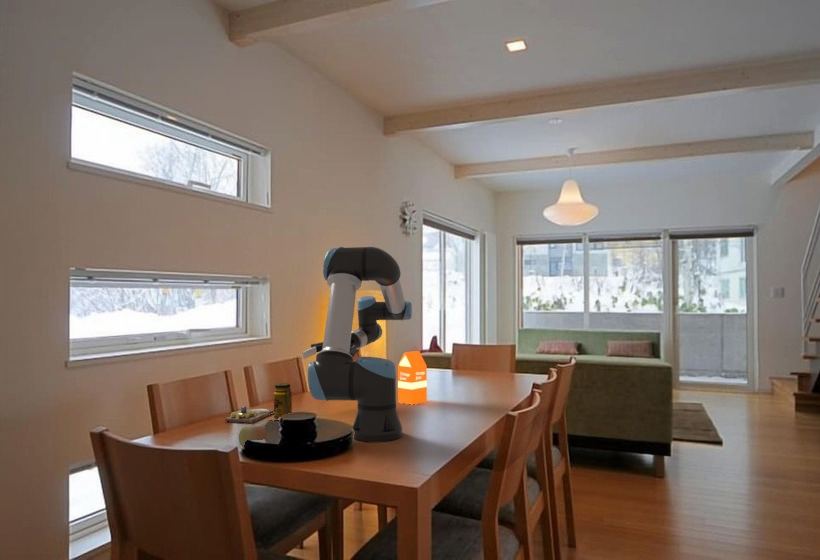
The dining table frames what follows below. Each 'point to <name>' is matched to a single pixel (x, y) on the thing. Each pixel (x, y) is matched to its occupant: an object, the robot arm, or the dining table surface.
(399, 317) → the robot arm
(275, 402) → the condiment
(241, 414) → the gear
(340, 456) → the dining table surface
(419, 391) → the orange juice
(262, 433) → the fruit
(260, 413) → the gear board
